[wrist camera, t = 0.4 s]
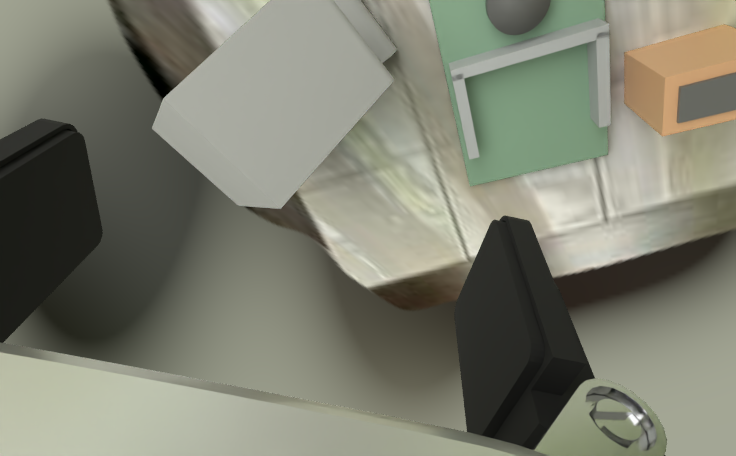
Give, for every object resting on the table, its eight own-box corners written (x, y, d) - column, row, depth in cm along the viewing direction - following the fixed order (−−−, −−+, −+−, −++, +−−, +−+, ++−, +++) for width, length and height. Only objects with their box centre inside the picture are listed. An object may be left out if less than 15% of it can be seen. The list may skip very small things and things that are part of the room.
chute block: (624, 52, 40) (667, 78, 34) (723, 24, 38) (790, 46, 32) (624, 103, 43) (663, 137, 36) (717, 79, 41) (777, 111, 34)
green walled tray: (426, -13, 39) (427, -7, 36) (597, -72, 35) (614, -71, 32) (468, 181, 49) (472, 198, 46) (603, 149, 46) (617, 165, 43)
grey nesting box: (268, 154, 49) (197, 270, 33) (202, 88, 46) (85, 182, 29) (398, 46, 42) (388, 128, 25) (330, -44, 38) (269, -16, 22)
